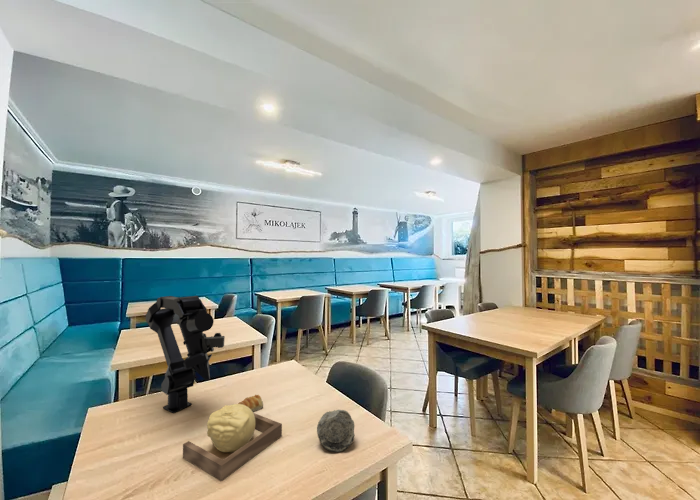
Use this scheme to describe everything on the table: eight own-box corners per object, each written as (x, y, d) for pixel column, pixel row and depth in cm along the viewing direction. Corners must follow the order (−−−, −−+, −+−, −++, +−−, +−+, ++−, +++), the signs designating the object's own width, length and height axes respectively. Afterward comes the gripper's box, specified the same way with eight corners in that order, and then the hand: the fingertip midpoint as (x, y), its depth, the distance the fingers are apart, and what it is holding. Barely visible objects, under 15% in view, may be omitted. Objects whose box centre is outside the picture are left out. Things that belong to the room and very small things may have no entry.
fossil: (324, 458, 76) (317, 414, 81) (315, 455, 84) (309, 416, 88) (362, 445, 81) (353, 404, 85) (350, 444, 88) (342, 407, 93)
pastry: (238, 419, 96) (238, 407, 96) (229, 411, 101) (229, 400, 101) (265, 408, 102) (265, 397, 103) (255, 401, 107) (255, 391, 107)
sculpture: (200, 456, 78) (200, 415, 78) (226, 430, 90) (226, 393, 90) (240, 461, 76) (241, 419, 76) (262, 433, 88) (262, 396, 88)
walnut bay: (182, 457, 77) (182, 444, 77) (245, 420, 94) (245, 409, 94) (221, 480, 69) (221, 465, 69) (281, 436, 87) (281, 423, 87)
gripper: (215, 327, 92) (231, 376, 91) (221, 322, 109) (234, 363, 109) (175, 342, 88) (192, 393, 87) (188, 334, 105) (202, 376, 105)
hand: (208, 380), depth 97 cm, fingers closed
